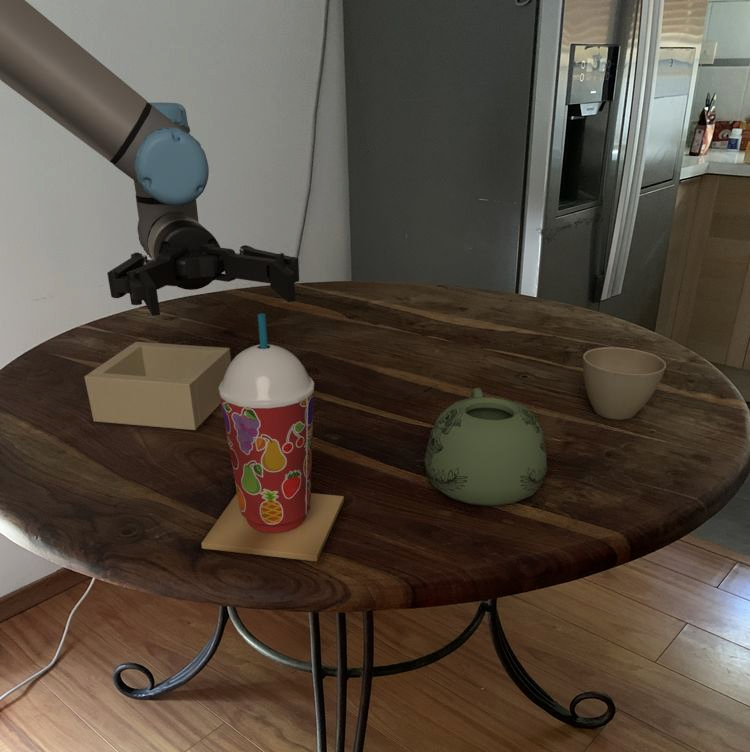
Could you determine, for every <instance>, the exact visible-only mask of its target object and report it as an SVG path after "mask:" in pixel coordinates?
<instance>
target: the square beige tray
mask: <svg viewBox="0 0 750 752" xmlns="http://www.w3.org/2000/svg"><path fill="white" fill-rule="evenodd" d="M231 362H232V359H231V348H230V347H222V346H221V347H218V346H204V345H203V346H202V345H189V344H176V343H175V344H174V343H162V342H161V343H159V342H148V341H147V342H144V341H135V342H133V343H132V344H130V345H129V346H126V348H124V349H123V350H122V351H119V352H118V353H117V354H115V355H114V356H112V357H111V358H109V359H108V360H107V361H105V362H103V363H101V364H100V365H99V366H97V367H96V368H94V369H93V370H92V371H90V372H89V373H87V374H86V375H84V382H85V386H86V393H87V396H88V401H89V407H90V410H91V411H90V412H91V415H92V420H93V422H95V423H105V424H106V423H108V424H120V425H132V426H140V427H141V426H142V427H152V428H153V427H154V428H164V429H165V428H166V429H177V430H188V431H189V430H190V431H196V430H197V429H198V428H199V427H200V426H201V425H202V424H203V423H204V422H205V421H206V419H208V418H209V416H210V415H212V413H213V412H214V411H215V410H217V408H218V407H219V406H220V405H221V398H220V394H219V390H218V388H219V386H220V383H221V382H222V381H223V379H224V376H225V373H226V371H227V369H228V367H229V365H230V363H231Z"/></svg>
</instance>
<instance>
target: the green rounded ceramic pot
mask: <svg viewBox="0 0 750 752" xmlns="http://www.w3.org/2000/svg"><path fill="white" fill-rule="evenodd" d="M426 446H427V447H426V451H425V454H424V458H423V463H424V467H425V473H426V477H427V478H428V480H429V482H430V484H431V485H432V486H433V487H434V488H435V489H436V490H438V491H439V492H441V493H442V494H444V495H446V496H447V497H449V498H450V499H452V500H454V501H457V502H461V503H464V504H467V505H471V506H479V507H490V508H491V507H499V506H500V507H501V506H507V505H508V506H509V505H512V504H514V503H516V502H520V501H523V500H525V499H527V498H529V497H531V496H534V494H536V492H537V491H538V490H539V488H540V487H541V486H542V485H543V482H544V479H545V477H546V474H547V470H548V463H547V448H546V447H547V445H546V438H545V435H544V432H543V429H542V426H541V423H540V422H539V420H538V419H537V417H536V416H535V415H534V414H533V413H532V412H531V411H530V410H529V409H528V408H527V407H526V406H524V405H522V404H520V403H518V402H515V401H513V400H510V399H509V400H508V399H504V398H500V397H489V396H488V397H487V396H486V397H484V393H483V391H482V389H481V388H480V387H476V388H473V389H472V390H471V394H470V396H469V397H468V398H464V399H461V400H458V401H455V402H454V403H453V404H451V405H450V406H449V407H447V408H446V409H445V410H443V411H442V412H441V413H440V414H439V416H438V418H437V419H436V421H435V422H434V425H433V426H432V429H431V430H430V434H429V438H428V443H427V445H426Z"/></svg>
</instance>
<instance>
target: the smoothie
mask: <svg viewBox="0 0 750 752" xmlns="http://www.w3.org/2000/svg"><path fill="white" fill-rule="evenodd" d="M257 320H258V335H259V337H258V338H259V344H255V345H252V346H250V347H248V348H245V349H243V350H242V351H241V352H239V353H238V354H236V356H235V357H233V359H231V363H230V365H229V367H228V369H227V371H226V373H225V376H224V379H223V381H222V382H221V383H220V386H219V388H218V390H219V394H220V398H221V404H220V405H221V409H222V415H223V422H224V427H225V433H226V439H227V444H228V451H229V455H230V461H231V462H230V463H231V468H232V473H233V479H234V485H235V490H236V494H237V496H238V502H239V508H240V511H241V514H242V515H243V516H244V517H245V518H246V519H247V522H248V524H249V525H250V526H251V527H252V528H253V529H256V530H259V531H262V532H268V533H279V532H285V531H289V530H292V529H294V528H296V527H298V526H299V525H301V524H302V523H303V521H304V520H305V517H306V514H307V513H308V511H309V510H310V508H311V493H312V472H313V471H312V469H313V468H312V467H313V430H314V428H313V427H314V422H313V421H314V391H315V381H314V380H313V379H312V377H311V376H310V375H309V374H308V371H307V370H306V367H305V366H304V365H303V363H302V362H301V360H300V359H299V358H298V357H297V356H296V355H295V354H294V353H293V352H292V351H289V350H288V349H286V348H284V347H282V346H280V345H275V344H271V343H268V332H267V319H266V313H258V314H257Z"/></svg>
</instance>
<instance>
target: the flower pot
mask: <svg viewBox="0 0 750 752" xmlns="http://www.w3.org/2000/svg"><path fill="white" fill-rule="evenodd" d="M666 368H667V363H666V361H665V360H663V358H661V357H659V356H658V355H655V354H653V353H650V352H647V351H643V350H641V349H640V350H639V349H634V348H629V347H618V346H617V347H616V346H607V347H606V346H604V347H596V348H591V349H589V350H587V351H585V352H584V353H583V355H582V375H583V381H584V386H585V391H586V395H587V397H588V400H589V402H590V404H591V407H592V409H593V411H594V412H595V414H597V415H598V416H600V417H603V418H606V419H608V420H609V419H610V420H616V421H624V420H629V419H631V418H633V417H635V416H636V415H637V414H638V413H639V411H641V410H642V409H643V408H644V406H645V405H646V404H647V403H648V401H650V399H651V397H652V396H653V395H654V393H655V391H656V390H657V388H658V386H659V384H660V382H661V381H662V378H663V376H664V373H665V371H666Z"/></svg>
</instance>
